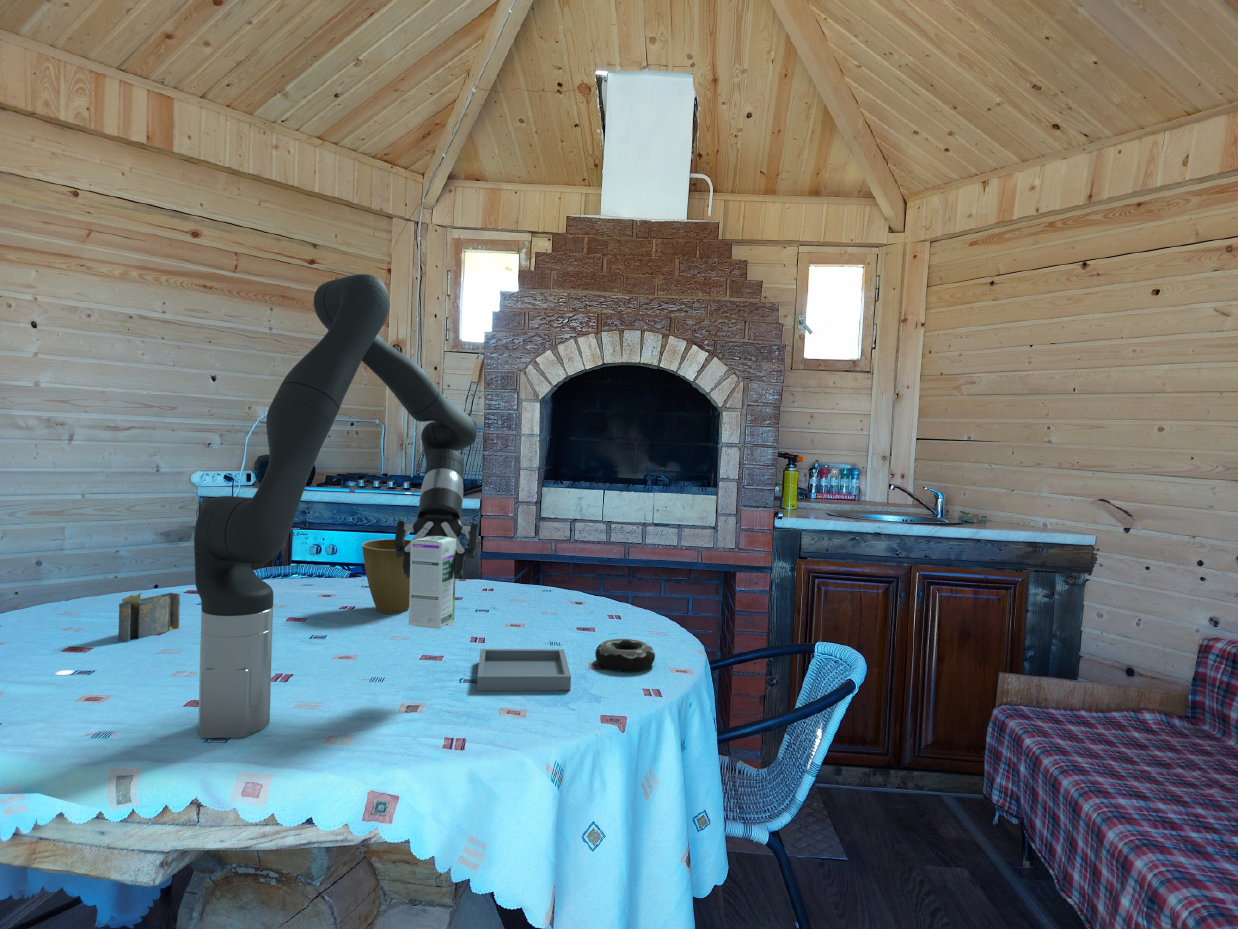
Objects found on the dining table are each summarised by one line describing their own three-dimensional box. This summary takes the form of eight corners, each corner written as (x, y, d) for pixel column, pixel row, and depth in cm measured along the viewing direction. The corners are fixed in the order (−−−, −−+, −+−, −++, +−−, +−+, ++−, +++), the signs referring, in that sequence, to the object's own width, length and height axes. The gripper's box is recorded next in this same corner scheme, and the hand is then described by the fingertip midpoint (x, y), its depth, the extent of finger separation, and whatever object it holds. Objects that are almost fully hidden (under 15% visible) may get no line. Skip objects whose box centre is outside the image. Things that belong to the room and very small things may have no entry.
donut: (640, 654, 153) (641, 635, 153) (664, 672, 142) (665, 651, 142) (587, 657, 149) (587, 638, 149) (607, 676, 138) (608, 655, 138)
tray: (570, 690, 129) (570, 676, 129) (476, 691, 127) (477, 676, 127) (563, 661, 145) (563, 649, 145) (479, 661, 143) (480, 648, 142)
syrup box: (440, 629, 122) (443, 541, 121) (406, 625, 123) (410, 538, 122) (454, 621, 127) (458, 537, 127) (422, 617, 128) (426, 534, 128)
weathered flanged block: (130, 644, 144) (131, 594, 144) (118, 642, 145) (119, 593, 145) (180, 630, 155) (182, 584, 154) (169, 628, 156) (170, 582, 155)
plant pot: (348, 607, 179) (351, 541, 178) (405, 600, 189) (407, 537, 188) (377, 620, 168) (380, 550, 167) (436, 612, 179) (438, 545, 178)
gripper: (399, 484, 131) (385, 561, 120) (481, 487, 133) (476, 564, 122) (401, 510, 136) (389, 587, 125) (481, 513, 139) (476, 589, 128)
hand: (432, 575), depth 124 cm, fingers closed on syrup box, 7 cm apart
